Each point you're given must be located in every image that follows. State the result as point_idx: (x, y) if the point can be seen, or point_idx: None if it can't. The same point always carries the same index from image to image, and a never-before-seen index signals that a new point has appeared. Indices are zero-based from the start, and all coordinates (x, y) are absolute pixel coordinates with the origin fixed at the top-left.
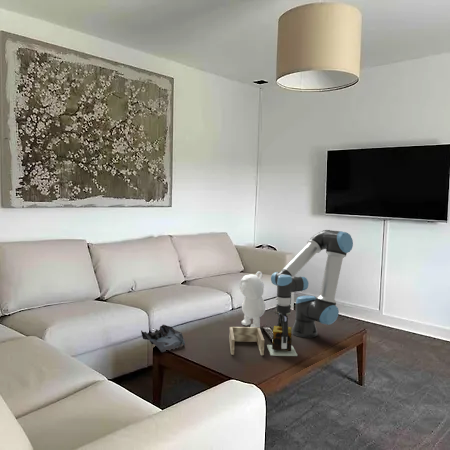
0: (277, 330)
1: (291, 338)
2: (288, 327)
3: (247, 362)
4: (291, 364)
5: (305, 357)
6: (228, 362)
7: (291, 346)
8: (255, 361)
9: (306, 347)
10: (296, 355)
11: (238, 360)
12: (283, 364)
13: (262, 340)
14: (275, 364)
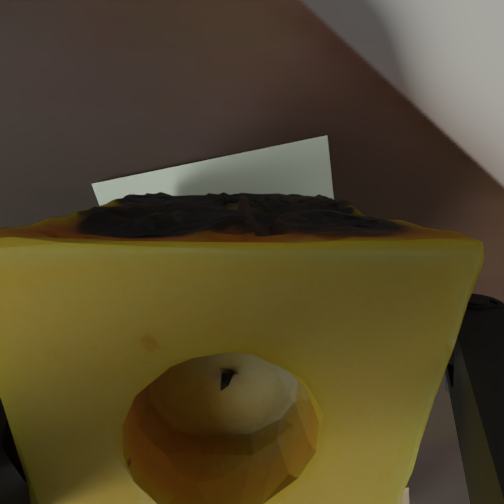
0: (331, 500)
1: (115, 199)
2: (25, 323)
3: (454, 431)
4: (489, 187)
5: (344, 57)
6: (454, 498)
7: (128, 189)
8: (440, 399)
9: (69, 25)
10: (327, 144)
11: (429, 469)
12: (487, 243)
13: (406, 496)
14: (485, 292)
